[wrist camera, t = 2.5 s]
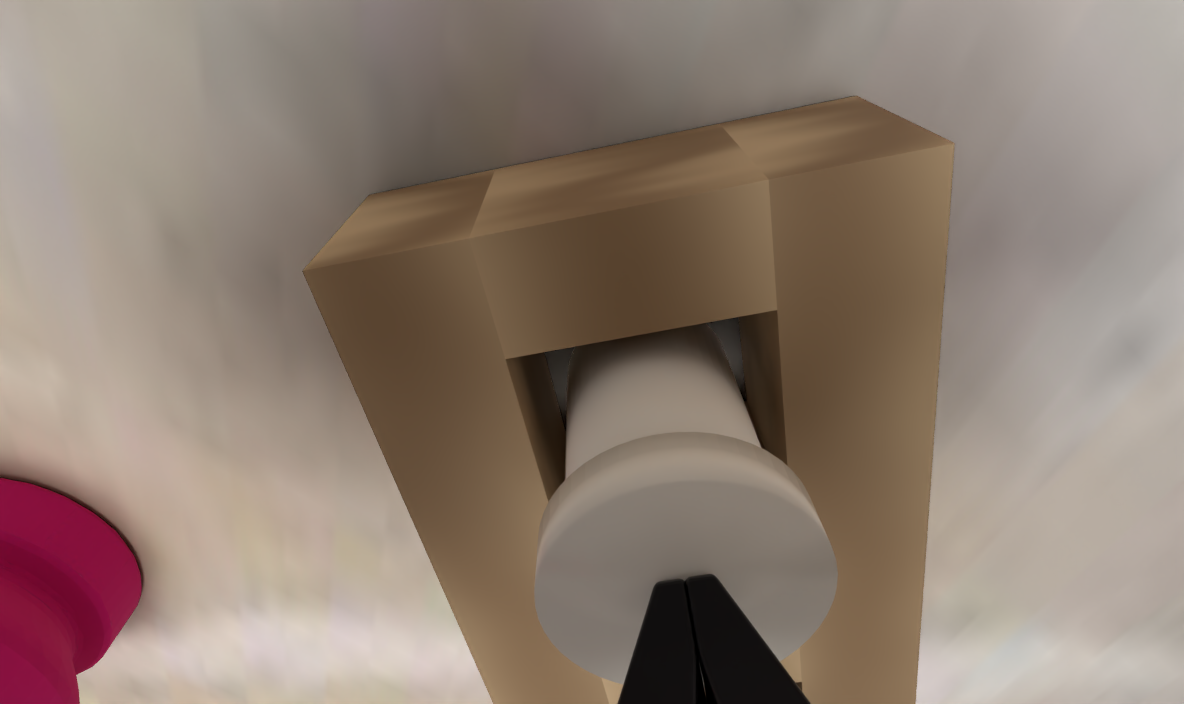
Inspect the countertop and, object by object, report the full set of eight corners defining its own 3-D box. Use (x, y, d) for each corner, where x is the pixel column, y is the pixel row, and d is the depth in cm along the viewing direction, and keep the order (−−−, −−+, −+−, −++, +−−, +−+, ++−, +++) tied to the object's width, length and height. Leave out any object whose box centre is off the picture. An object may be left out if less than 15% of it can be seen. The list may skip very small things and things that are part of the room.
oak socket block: (856, 95, 13) (954, 143, 10) (856, 684, 23) (907, 815, 19) (368, 194, 14) (302, 270, 11) (563, 725, 24) (561, 857, 20)
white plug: (737, 268, 13) (835, 454, 8) (753, 437, 15) (839, 669, 10) (528, 307, 14) (499, 510, 9) (571, 467, 16) (569, 706, 11)
